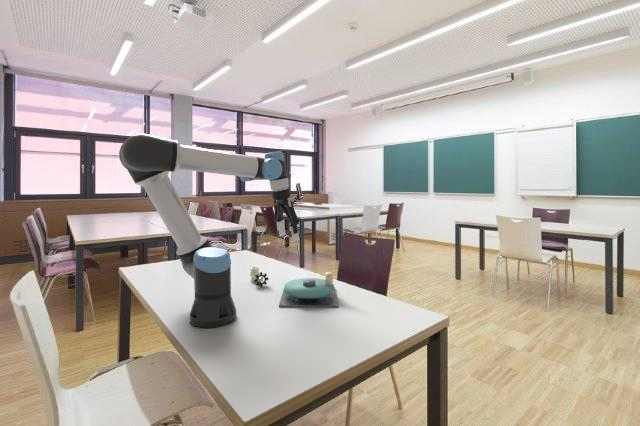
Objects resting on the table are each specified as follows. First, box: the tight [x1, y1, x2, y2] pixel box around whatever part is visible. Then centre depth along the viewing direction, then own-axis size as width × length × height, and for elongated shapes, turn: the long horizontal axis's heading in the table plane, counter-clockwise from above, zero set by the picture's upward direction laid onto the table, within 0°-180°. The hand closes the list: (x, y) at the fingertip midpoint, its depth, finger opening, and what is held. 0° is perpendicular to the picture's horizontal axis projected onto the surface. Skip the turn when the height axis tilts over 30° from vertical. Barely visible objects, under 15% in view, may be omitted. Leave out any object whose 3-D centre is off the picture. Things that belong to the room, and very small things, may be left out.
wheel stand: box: [278, 286, 339, 308], centre depth 135 cm, size 22×22×3 cm
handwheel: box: [283, 271, 335, 299], centre depth 135 cm, size 20×20×7 cm
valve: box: [249, 266, 269, 288], centre depth 153 cm, size 7×7×12 cm
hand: (289, 238), depth 142 cm, fingers open, 13 cm apart
